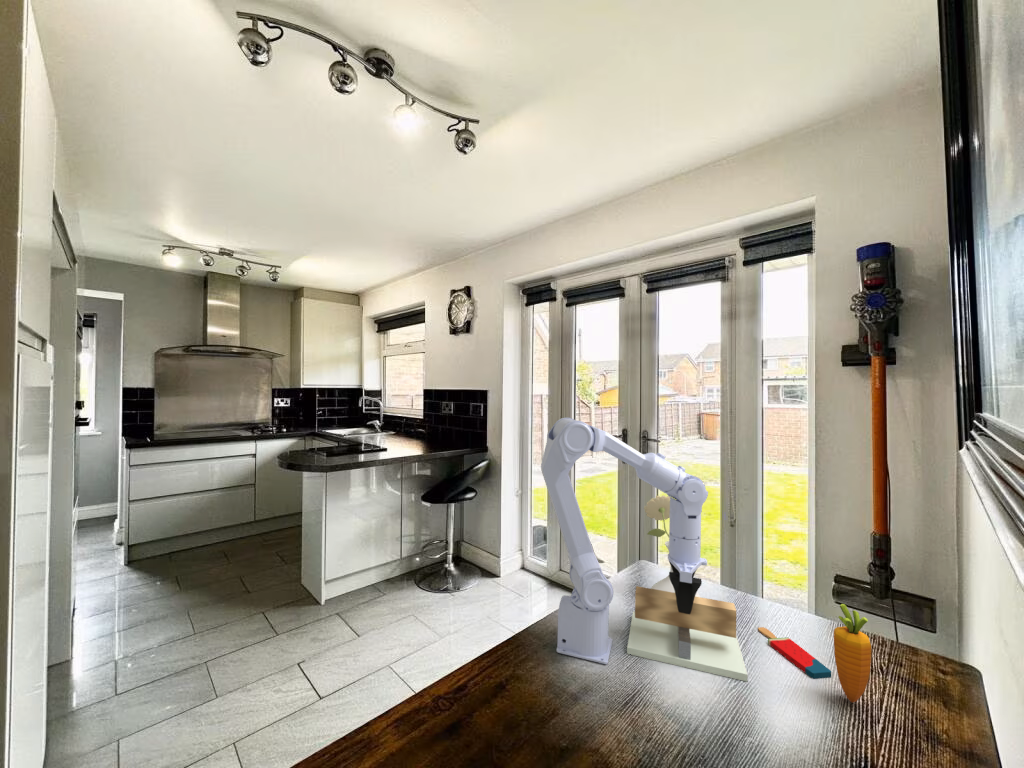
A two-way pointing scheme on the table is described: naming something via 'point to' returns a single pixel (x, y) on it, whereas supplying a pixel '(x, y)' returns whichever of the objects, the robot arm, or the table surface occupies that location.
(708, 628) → the wooden block
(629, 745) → the table surface
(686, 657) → the balance stand
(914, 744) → the table surface
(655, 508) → the flower in vase
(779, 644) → the popsicle
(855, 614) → the carrot
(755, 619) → the table surface
